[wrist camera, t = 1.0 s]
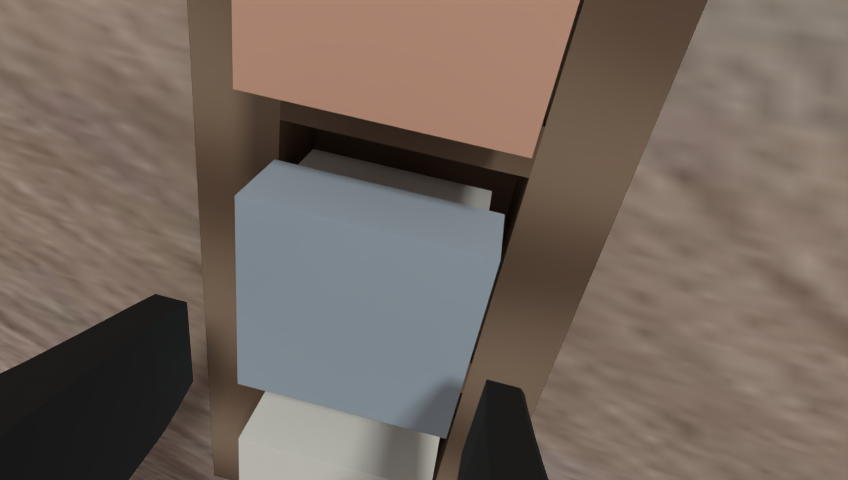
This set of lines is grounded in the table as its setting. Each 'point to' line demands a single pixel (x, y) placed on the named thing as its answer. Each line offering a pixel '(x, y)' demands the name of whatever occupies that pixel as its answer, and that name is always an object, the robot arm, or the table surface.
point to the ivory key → (329, 445)
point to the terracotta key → (410, 62)
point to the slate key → (362, 287)
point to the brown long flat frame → (457, 162)
